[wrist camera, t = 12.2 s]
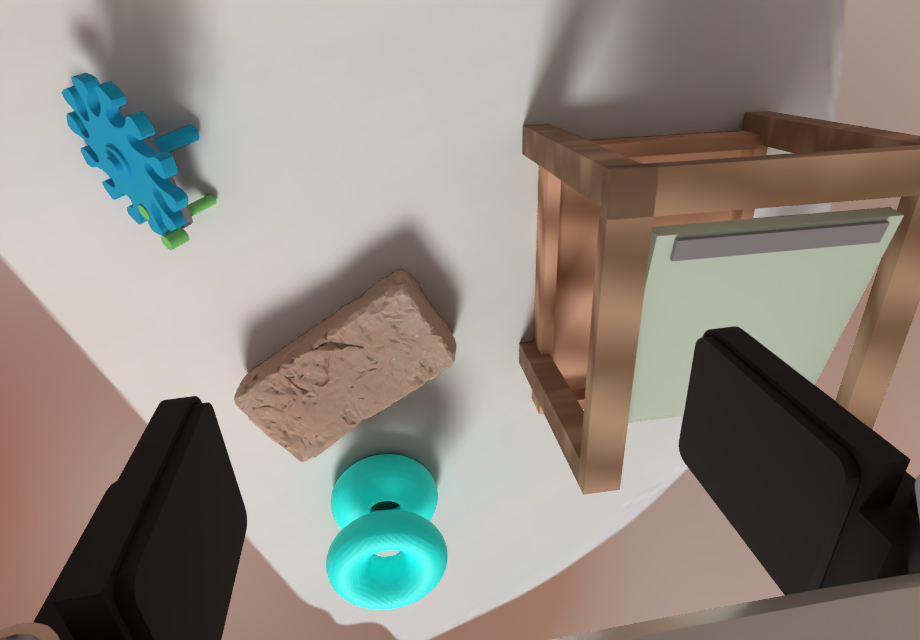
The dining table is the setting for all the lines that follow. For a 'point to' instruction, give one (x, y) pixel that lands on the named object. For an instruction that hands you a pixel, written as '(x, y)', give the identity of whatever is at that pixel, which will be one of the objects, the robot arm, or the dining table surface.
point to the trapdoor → (752, 293)
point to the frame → (685, 202)
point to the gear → (133, 157)
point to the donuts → (385, 534)
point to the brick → (348, 367)
